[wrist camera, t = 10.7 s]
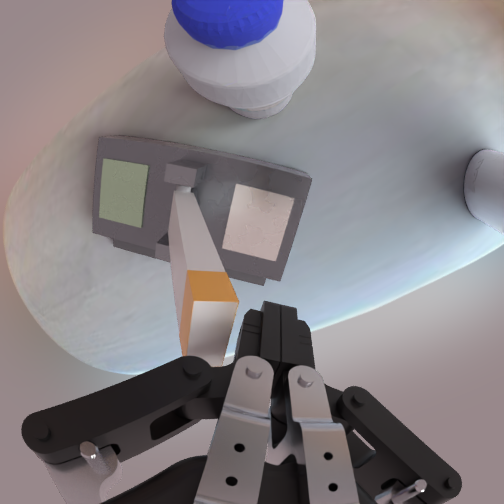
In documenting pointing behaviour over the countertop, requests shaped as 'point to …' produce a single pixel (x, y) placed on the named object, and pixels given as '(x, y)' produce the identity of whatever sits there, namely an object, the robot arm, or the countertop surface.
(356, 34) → the countertop surface
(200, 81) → the bottle
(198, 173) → the switch box
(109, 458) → the robot arm
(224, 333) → the lever
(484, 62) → the countertop surface
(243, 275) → the dark grey bar
